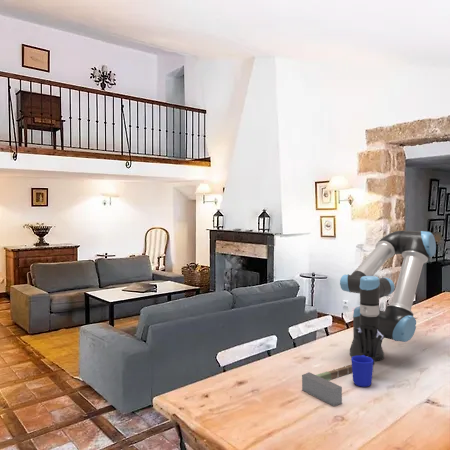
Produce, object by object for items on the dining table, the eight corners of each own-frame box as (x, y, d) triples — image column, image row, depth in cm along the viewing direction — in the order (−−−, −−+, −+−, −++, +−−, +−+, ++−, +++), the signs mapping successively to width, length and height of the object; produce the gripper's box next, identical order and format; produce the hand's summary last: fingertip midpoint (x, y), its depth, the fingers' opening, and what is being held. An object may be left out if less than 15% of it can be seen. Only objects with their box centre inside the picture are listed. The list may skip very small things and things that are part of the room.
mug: (374, 377, 173) (374, 353, 173) (372, 389, 162) (372, 363, 161) (353, 375, 176) (353, 351, 176) (350, 386, 165) (350, 361, 164)
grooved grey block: (302, 390, 162) (302, 374, 162) (311, 387, 165) (310, 372, 164) (333, 406, 149) (333, 389, 149) (343, 403, 151) (342, 386, 151)
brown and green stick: (305, 384, 167) (305, 377, 167) (356, 368, 183) (356, 362, 183) (309, 386, 165) (309, 379, 165) (361, 369, 182) (361, 363, 181)
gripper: (350, 312, 177) (350, 369, 177) (377, 319, 166) (376, 379, 166) (362, 310, 181) (362, 365, 181) (389, 316, 170) (389, 375, 170)
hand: (369, 371), depth 174 cm, fingers closed
